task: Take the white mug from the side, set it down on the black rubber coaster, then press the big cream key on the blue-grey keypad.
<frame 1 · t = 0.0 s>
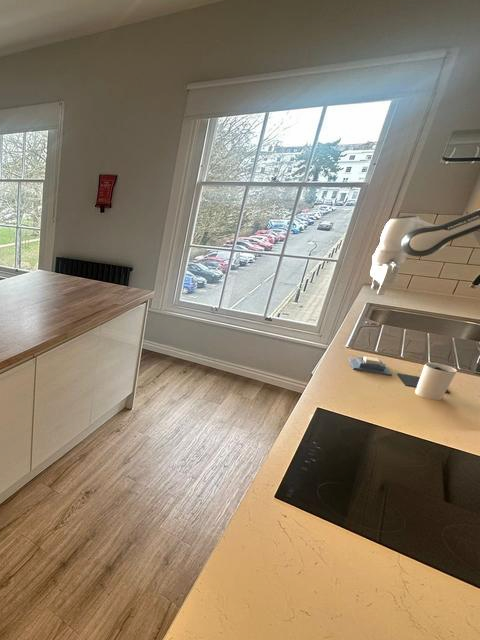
hand: (377, 291, 163), 21 cm above the worktop, tool pointing down, fingers open, 8 cm apart
coaster: (421, 383, 133), on the worktop
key: (371, 360, 144), point 3 cm above the worktop, slide at 0.1 cm
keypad: (368, 367, 145), on the worktop
white mug: (427, 396, 126), on the worktop
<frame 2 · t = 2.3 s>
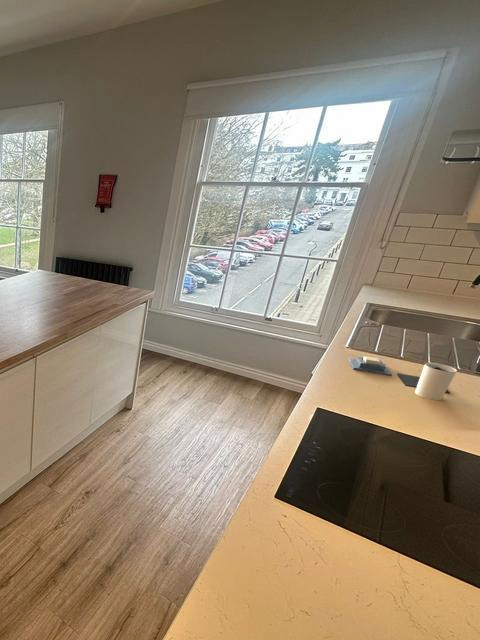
nothing on the worktop moved.
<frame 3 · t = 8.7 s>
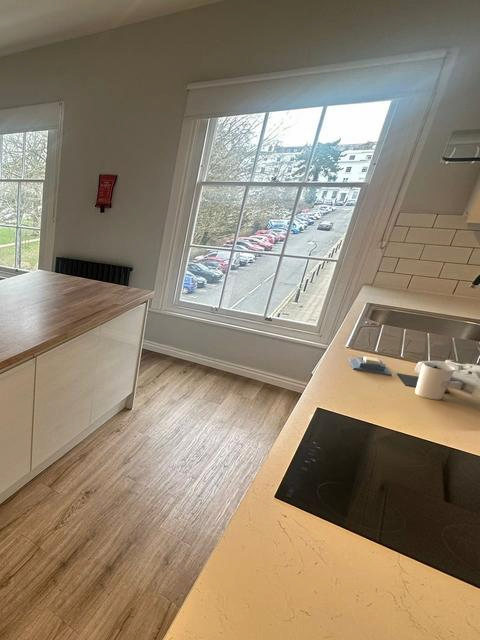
hand: (433, 380, 124), 6 cm above the worktop, tool horizontal, fingers closed on white mug, 2 cm apart
white mug: (427, 395, 126), on the worktop, touching gripper
everything else where it was.
when the fingers open (6 cm above the worktop, at t = 15.1 s): white mug stays where it is, resting on coaster.
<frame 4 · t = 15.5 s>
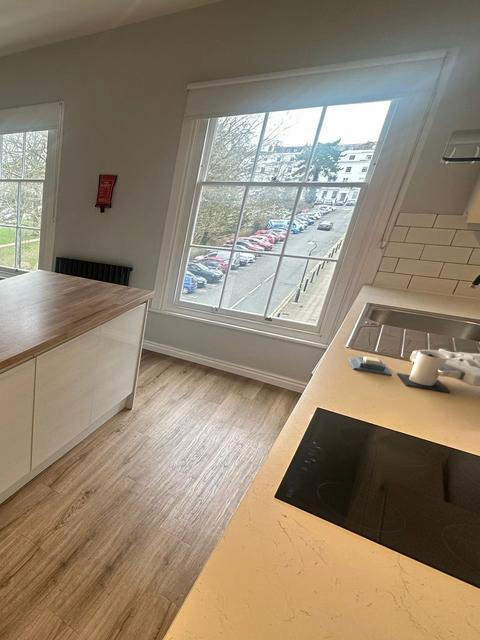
hand: (426, 367, 131), 6 cm above the worktop, tool horizontal, fingers open, 7 cm apart
white mug: (421, 382, 134), resting on coaster
everything else where it was.
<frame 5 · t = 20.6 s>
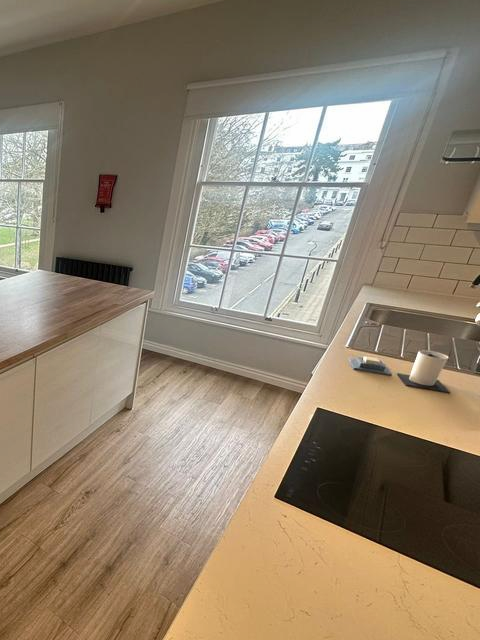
nothing on the worktop moved.
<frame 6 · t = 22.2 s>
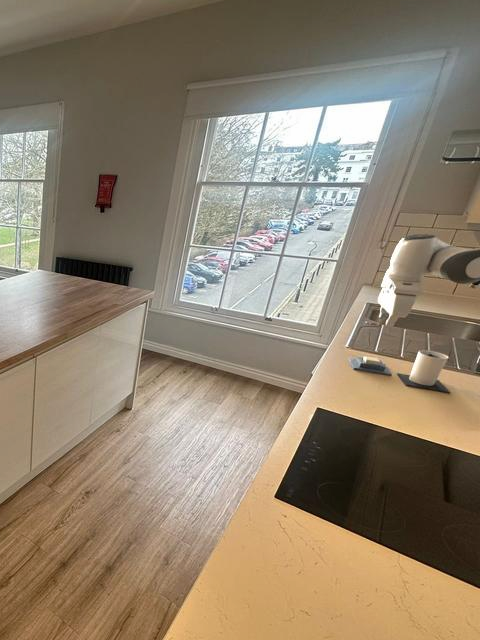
hand: (385, 322, 139), 18 cm above the worktop, tool pointing down, fingers open, 7 cm apart
nothing on the worktop moved.
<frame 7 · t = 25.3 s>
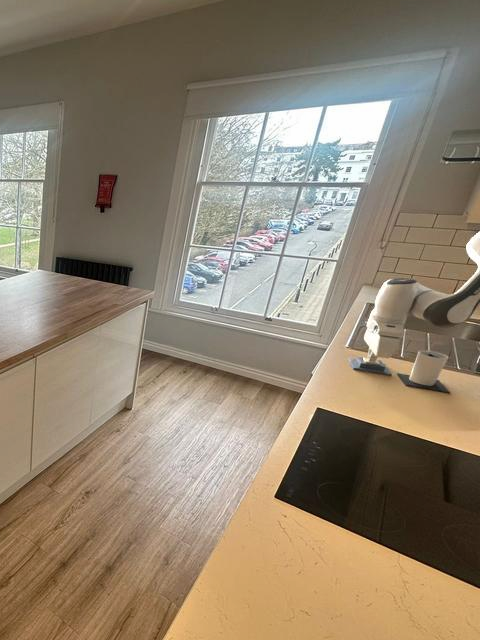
hand: (371, 360, 144), 3 cm above the worktop, tool pointing down, fingers closed, pressing on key
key: (370, 362, 144), point 2 cm above the worktop, slide at -0.6 cm, touching gripper
everything else where it was.
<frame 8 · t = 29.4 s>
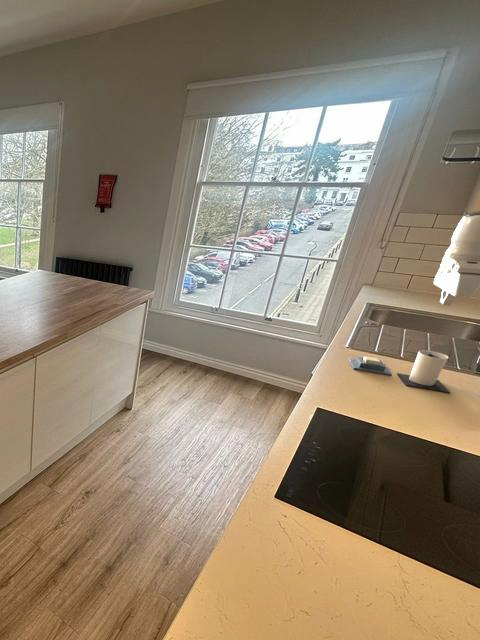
hand: (444, 304, 132), 25 cm above the worktop, tool pointing down, fingers closed
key: (371, 360, 144), point 3 cm above the worktop, slide at 0.1 cm
everything else where it was.
at the end: white mug inside the target area on the coaster (0.5 cm from its centre), point 0.4 cm above the coaster's base; white mug tilted 0°; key pushed in 0.8 cm at the most during the clip, back to where it started at the end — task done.
